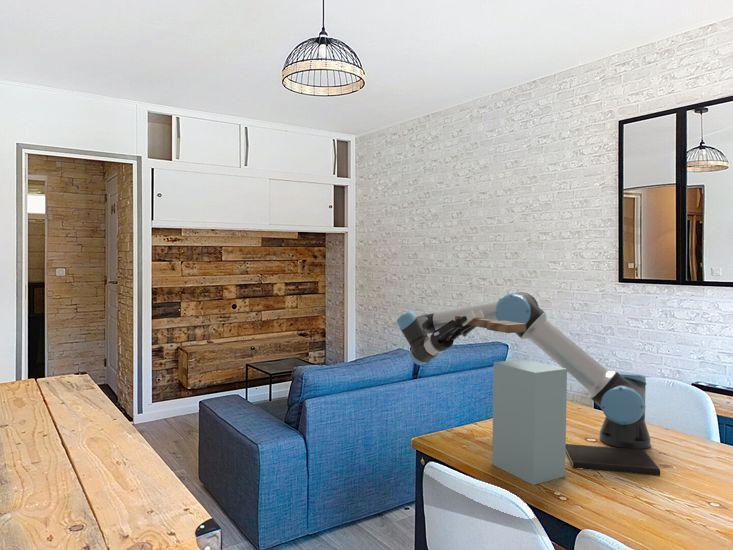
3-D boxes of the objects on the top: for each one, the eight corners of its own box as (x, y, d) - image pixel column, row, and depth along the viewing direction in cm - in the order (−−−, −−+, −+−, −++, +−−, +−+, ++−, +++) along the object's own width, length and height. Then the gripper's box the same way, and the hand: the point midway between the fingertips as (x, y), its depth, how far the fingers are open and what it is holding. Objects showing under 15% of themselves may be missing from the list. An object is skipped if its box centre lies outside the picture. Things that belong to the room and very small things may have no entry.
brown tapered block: (450, 323, 176) (450, 316, 176) (466, 322, 180) (466, 315, 180) (508, 333, 153) (508, 325, 153) (525, 331, 156) (525, 323, 156)
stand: (492, 464, 155) (493, 362, 154) (522, 457, 161) (524, 359, 160) (533, 484, 141) (535, 372, 140) (564, 476, 147) (567, 368, 146)
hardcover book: (564, 450, 169) (564, 443, 169) (643, 457, 164) (643, 449, 164) (573, 470, 153) (573, 462, 153) (660, 477, 148) (660, 469, 148)
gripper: (460, 349, 190) (500, 323, 172) (423, 353, 182) (461, 325, 164) (453, 330, 193) (492, 302, 175) (417, 332, 185) (454, 303, 167)
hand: (477, 313), depth 169 cm, fingers closed on brown tapered block, 3 cm apart
